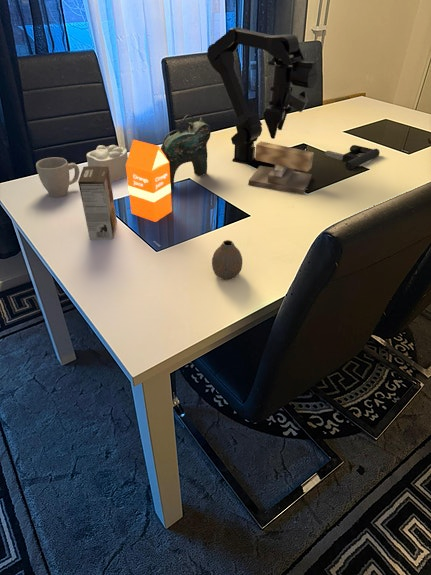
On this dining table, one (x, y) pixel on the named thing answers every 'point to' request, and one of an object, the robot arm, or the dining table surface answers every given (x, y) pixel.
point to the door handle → (355, 156)
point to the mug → (56, 175)
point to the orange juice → (148, 181)
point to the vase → (227, 261)
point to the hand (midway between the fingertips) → (276, 134)
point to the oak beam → (284, 156)
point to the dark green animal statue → (187, 148)
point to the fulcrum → (280, 179)
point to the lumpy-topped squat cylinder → (109, 160)
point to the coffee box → (98, 202)
